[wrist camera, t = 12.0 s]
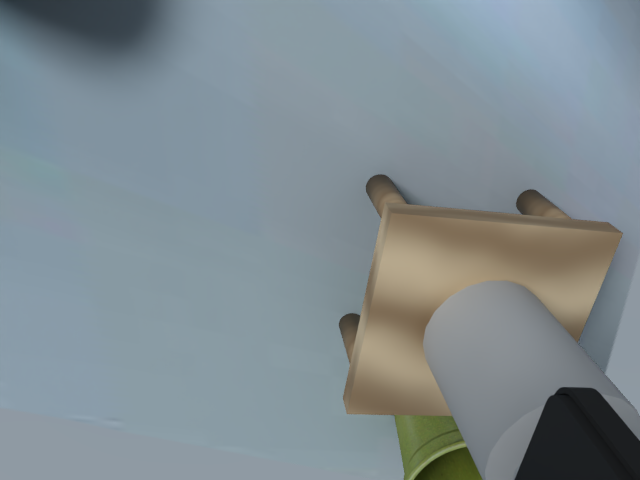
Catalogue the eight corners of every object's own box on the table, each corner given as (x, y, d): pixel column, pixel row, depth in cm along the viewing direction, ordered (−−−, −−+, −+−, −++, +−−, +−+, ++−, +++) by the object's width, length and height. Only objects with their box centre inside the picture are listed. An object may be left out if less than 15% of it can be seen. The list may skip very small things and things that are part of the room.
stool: (361, 163, 38) (391, 212, 31) (554, 183, 41) (622, 233, 34) (328, 339, 44) (346, 414, 37) (498, 346, 47) (546, 417, 40)
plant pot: (503, 374, 48) (555, 455, 40) (452, 455, 52) (490, 544, 44) (404, 348, 45) (440, 430, 38) (357, 436, 49) (380, 526, 41)
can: (556, 281, 34) (702, 429, 24) (511, 380, 38) (621, 550, 27) (441, 263, 33) (542, 415, 22) (403, 369, 36) (475, 546, 25)
